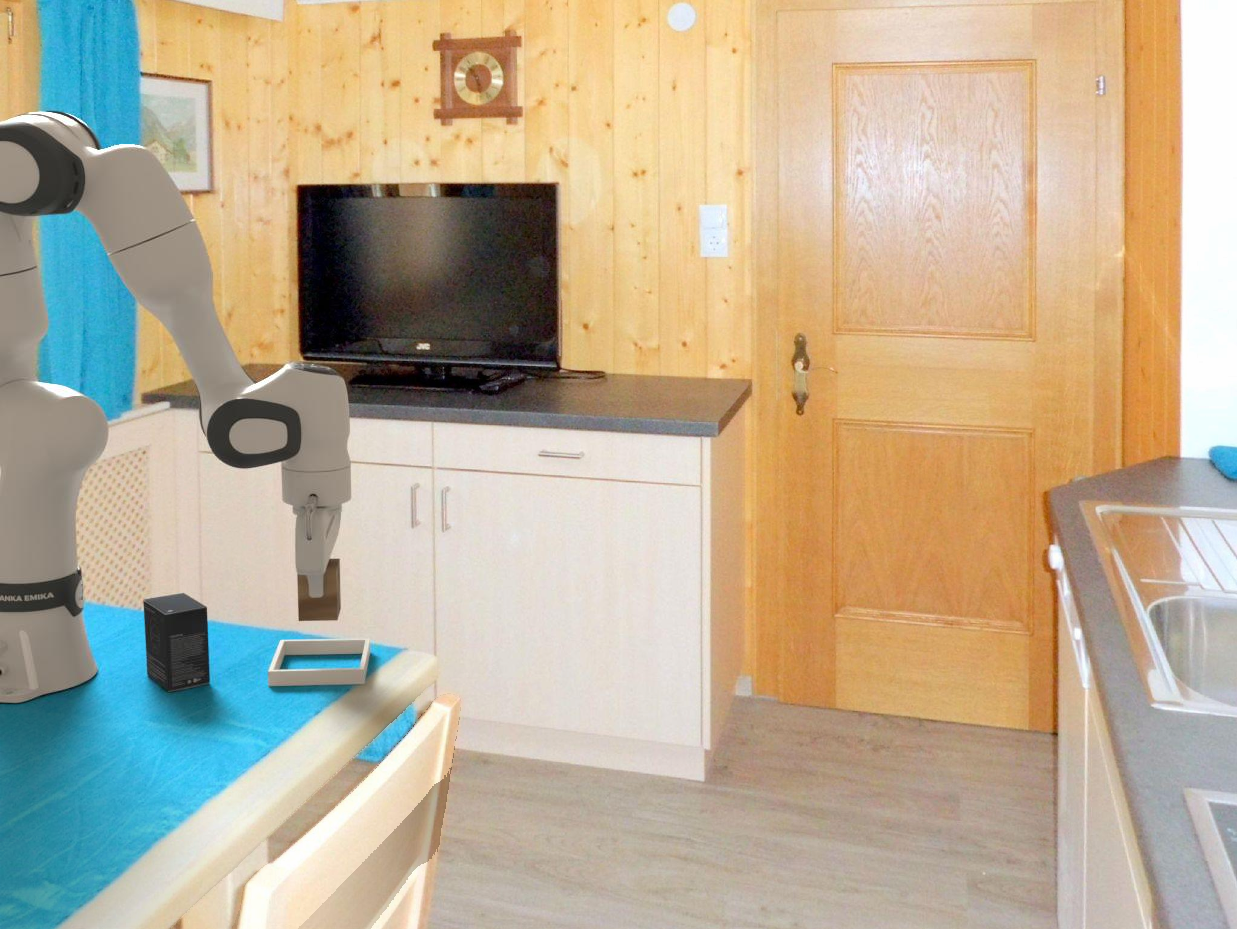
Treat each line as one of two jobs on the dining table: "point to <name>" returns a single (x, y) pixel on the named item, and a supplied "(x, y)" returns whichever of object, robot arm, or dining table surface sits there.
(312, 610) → the walnut block
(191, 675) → the box
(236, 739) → the dining table surface
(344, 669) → the white square frame
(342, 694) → the dining table surface
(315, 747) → the dining table surface
